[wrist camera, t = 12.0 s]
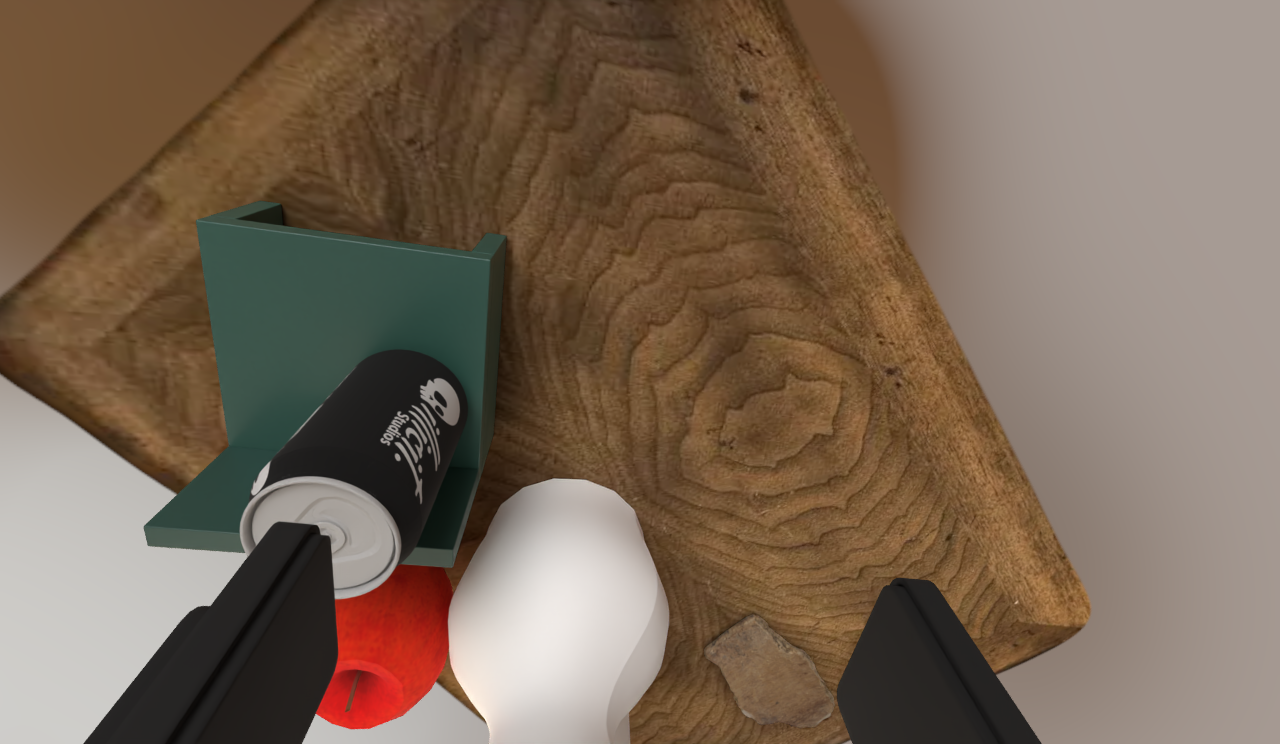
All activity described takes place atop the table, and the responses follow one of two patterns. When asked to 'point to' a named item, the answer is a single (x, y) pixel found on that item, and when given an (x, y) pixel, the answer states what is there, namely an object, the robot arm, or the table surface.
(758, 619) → the pottery shard
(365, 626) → the apple
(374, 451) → the beverage can
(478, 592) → the vase
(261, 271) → the green l-shaped bookend
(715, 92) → the table surface
